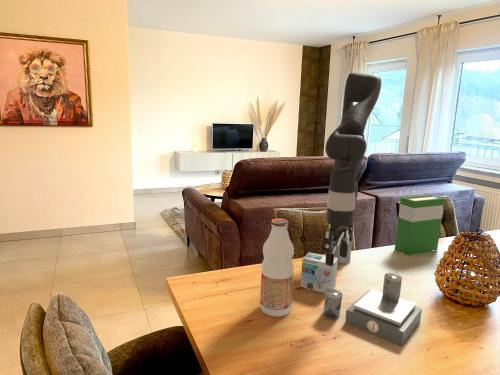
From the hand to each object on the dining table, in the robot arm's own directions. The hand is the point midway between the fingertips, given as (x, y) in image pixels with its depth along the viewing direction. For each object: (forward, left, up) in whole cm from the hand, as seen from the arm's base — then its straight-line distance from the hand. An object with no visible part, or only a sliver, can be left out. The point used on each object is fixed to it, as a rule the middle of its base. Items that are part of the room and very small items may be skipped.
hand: (336, 260), depth 108 cm
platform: (+13, +7, -13) cm, 19 cm away
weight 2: (+13, +12, -12) cm, 21 cm away
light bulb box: (-12, +13, -17) cm, 25 cm away
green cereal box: (+2, +75, -17) cm, 77 cm away
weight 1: (0, 0, -17) cm, 17 cm away
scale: (+13, +7, -17) cm, 23 cm away
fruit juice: (-14, -9, -17) cm, 24 cm away
